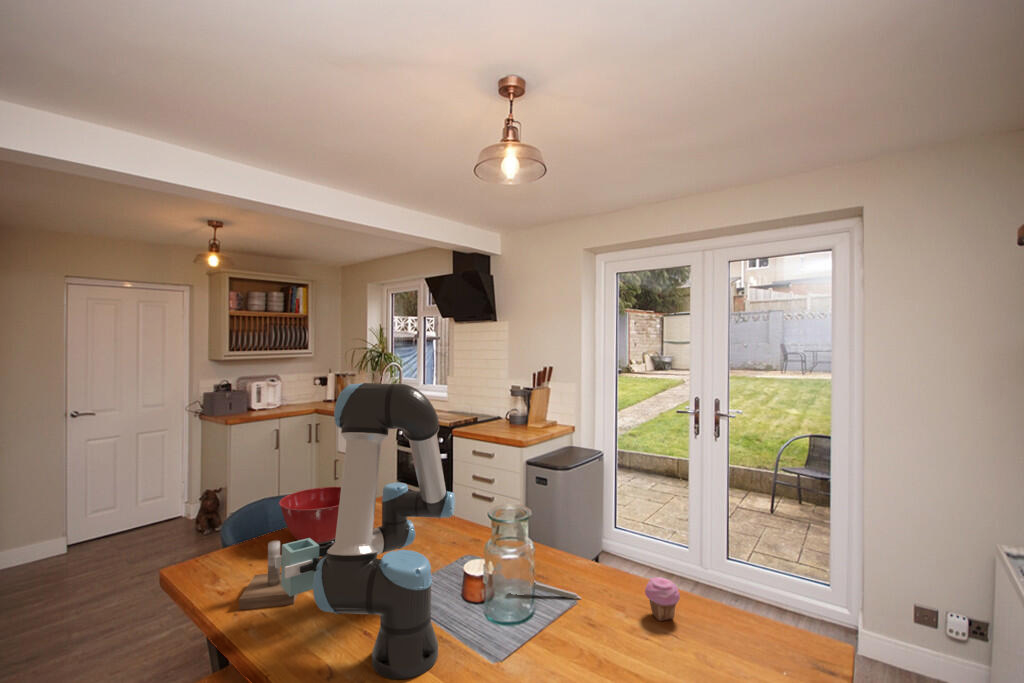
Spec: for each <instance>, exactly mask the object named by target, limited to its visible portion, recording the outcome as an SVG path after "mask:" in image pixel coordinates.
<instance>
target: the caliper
mask: <svg viewBox="0 0 1024 683" xmlns="http://www.w3.org/2000/svg"><path fill="white" fill-rule="evenodd" d="M535 590H538V591H542V592H546V593H549V594H553V595H557V596H559V597H564V598H567V599H570V598H573V599H572V600H582V597H581V596H580V595H578V594H577V593H576V592H573V591H568V590H565V589H561V588H558V587H554V586H551V585H547V584H544V583H540V582H537V581H536V580H534V591H535Z"/></svg>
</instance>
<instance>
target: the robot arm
mask: <svg viewBox="0 0 1024 683" xmlns="http://www.w3.org/2000/svg"><path fill="white" fill-rule="evenodd" d="M333 417H334V423H335V425H336V427H337V428H339V429H341V430H340V431H341V432H340V435H341V437H342V438H343V439H344V440H345V443H346V444H345V451H344V453H345V454H344V461H343V467H342V468H343V469H342V479H341V485H340V487H341V494H340V502H339V511H338V520H337V528H336V537H335V539H332V540H330V541H326V542H321V543H317V544H318V545H319V558H318V559H316V558H313V563H312V560H308V561H304V562H301V563H297V564H293V565H290V566H286V567H285V578H289V577H293V576H296V575H300V574H303V573H307V572H310V571H312V570H313V571H315V573H314V579H313V589H312V593H313V594H312V595H313V599H314V602H315V604H316V605H317V608H319V610H320V611H321V612H325V613H332V614H337V615H340V614H354V615H356V614H357V615H359V614H360V615H378V616H379V618H380V619H379V620H380V622H379V623H380V624H379V625H380V626H379V630H378V633H377V636H376V639H375V642H374V646H373V648H372V653H371V654H372V655H371V665H372V668H373V670H374V671H375V673H377V674H378V675H380V677H384V678H387V679H391V680H405V679H411V678H416V677H418V676H420V675H423V674H424V673H426V672H427V671H428V670H430V669H431V668H432V667H433V666H434V665H435V664H436V662H437V661H438V657H439V642H438V641H439V640H438V638H437V635H436V632H435V630H434V626H433V624H432V623H433V622H432V583H433V577H432V566H431V563H430V560H429V559H428V558H427V557H426V556H425V555H423V554H422V553H419V552H417V551H414V550H408V549H403V548H405V547H407V546H410V545H412V544H413V543H414V541H415V539H416V530H415V524H414V523H413V522H412V521H411V519H410V520H409V519H408V517H410V518H429V519H430V518H434V519H435V518H436V519H442V518H443V519H445V518H452V517H453V515H454V513H455V510H456V509H455V508H456V495H455V493H454V492H452V491H448V490H447V488H446V482H445V477H444V469H443V465H442V463H443V462H442V457H441V452H440V446H439V440H438V432H439V430H440V422H439V417H438V413H437V411H436V409H435V408H434V406H433V404H432V403H431V401H430V400H429V399H428V398H427V396H426V395H424V393H423V392H421V391H420V389H417V388H415V387H414V386H412V385H409V384H406V383H373V382H361V383H351V384H347V385H346V386H345V387H344V388H343V389H342V390H341V391H340V392H339V395H338V397H337V400H336V402H335V406H334V410H333ZM391 429H392V430H396V429H397V430H401V431H402V432H403V435H404V437H405V438H406V440H408V441H409V446H410V450H411V456H412V460H413V464H414V470H415V474H416V475H415V476H416V478H417V479H416V480H417V482H418V488H419V490H409V487H408V485H407V483H406V482H405V483H404V482H391V483H387V484H386V485H385V486H384V487H383V488H382V495H381V496H382V497H381V498H382V499H381V526H377V527H374V523H375V522H374V521H375V512H376V511H375V510H376V501H377V491H378V482H379V473H380V462H381V461H380V459H381V450H382V448H381V447H382V443H383V442H384V441H385V440H386V439H387V438H388V437H389V430H391ZM384 553H385V554H384ZM381 554H384V555H383V556H382V557H381V558H378V555H381ZM279 567H280V568H281V567H282V554H280V556H277V557H275V568H279Z"/></svg>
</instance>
